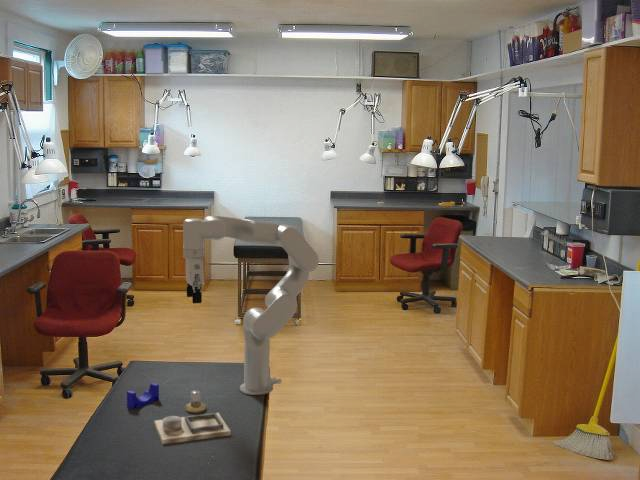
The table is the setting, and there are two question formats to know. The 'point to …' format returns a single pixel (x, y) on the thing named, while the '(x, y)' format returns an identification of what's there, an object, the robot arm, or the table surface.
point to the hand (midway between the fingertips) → (194, 299)
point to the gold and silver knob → (195, 403)
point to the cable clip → (143, 397)
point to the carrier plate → (191, 428)
